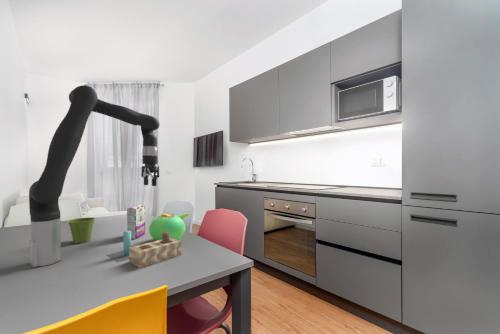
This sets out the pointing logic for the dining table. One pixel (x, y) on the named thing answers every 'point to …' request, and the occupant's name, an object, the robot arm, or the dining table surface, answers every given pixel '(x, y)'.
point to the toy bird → (168, 226)
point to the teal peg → (126, 242)
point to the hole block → (154, 252)
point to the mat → (118, 256)
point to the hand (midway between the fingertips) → (150, 185)
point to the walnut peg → (165, 237)
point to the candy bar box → (136, 221)
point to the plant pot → (81, 229)
